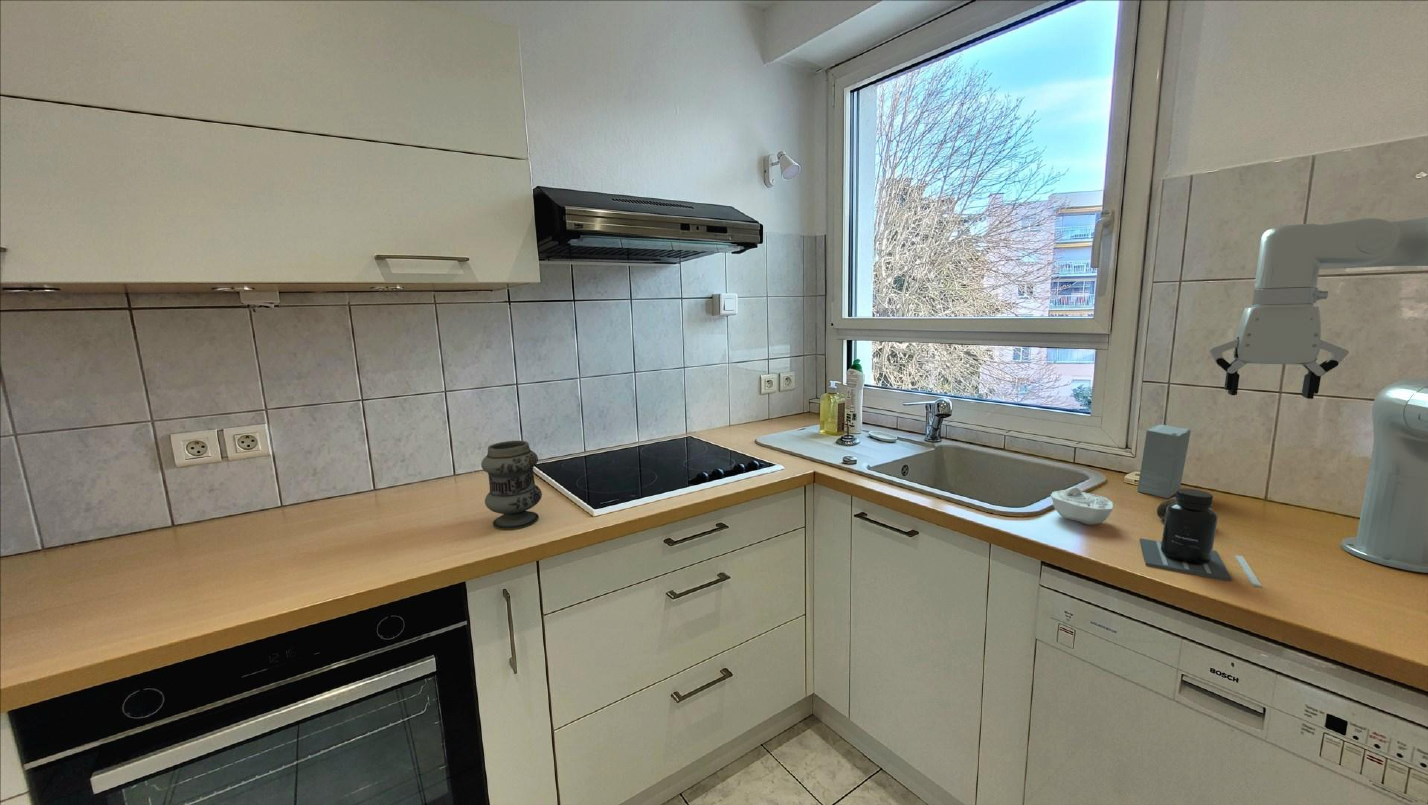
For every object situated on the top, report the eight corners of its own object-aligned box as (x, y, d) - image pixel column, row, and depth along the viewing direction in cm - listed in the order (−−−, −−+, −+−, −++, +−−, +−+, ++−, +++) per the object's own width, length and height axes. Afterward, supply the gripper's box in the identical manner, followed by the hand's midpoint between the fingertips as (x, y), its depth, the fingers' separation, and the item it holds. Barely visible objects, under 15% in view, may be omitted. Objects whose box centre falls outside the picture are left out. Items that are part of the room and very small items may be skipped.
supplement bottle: (1175, 564, 93) (1184, 498, 91) (1151, 547, 100) (1159, 485, 98) (1221, 566, 92) (1231, 499, 90) (1194, 549, 98) (1202, 486, 96)
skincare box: (1148, 485, 135) (1155, 423, 132) (1184, 492, 129) (1192, 428, 127) (1135, 492, 130) (1142, 428, 128) (1172, 500, 125) (1180, 433, 122)
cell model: (1084, 534, 107) (1087, 502, 106) (1037, 513, 119) (1039, 483, 118) (1126, 529, 109) (1130, 497, 108) (1076, 508, 121) (1079, 479, 120)
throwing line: (1242, 557, 96) (1242, 556, 96) (1261, 587, 86) (1261, 585, 86) (1234, 556, 97) (1235, 555, 97) (1252, 585, 87) (1252, 583, 87)
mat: (1216, 553, 98) (1216, 550, 98) (1231, 581, 88) (1231, 578, 88) (1139, 540, 104) (1139, 537, 104) (1145, 565, 94) (1146, 562, 94)
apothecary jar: (512, 509, 129) (505, 436, 126) (554, 514, 125) (548, 439, 122) (475, 528, 118) (466, 449, 115) (519, 535, 114) (512, 452, 111)
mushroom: (1221, 518, 106) (1202, 488, 108) (1176, 530, 108) (1158, 501, 110) (1204, 523, 113) (1186, 495, 115) (1162, 535, 115) (1145, 507, 117)
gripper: (1347, 297, 92) (1330, 396, 95) (1211, 300, 102) (1200, 390, 105) (1366, 297, 86) (1348, 402, 89) (1220, 300, 96) (1208, 396, 98)
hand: (1268, 395), depth 97 cm, fingers open, 9 cm apart
